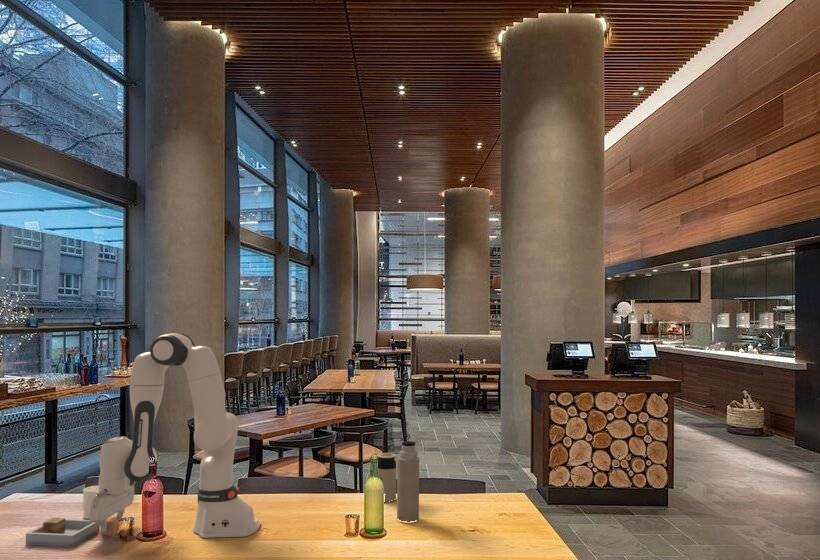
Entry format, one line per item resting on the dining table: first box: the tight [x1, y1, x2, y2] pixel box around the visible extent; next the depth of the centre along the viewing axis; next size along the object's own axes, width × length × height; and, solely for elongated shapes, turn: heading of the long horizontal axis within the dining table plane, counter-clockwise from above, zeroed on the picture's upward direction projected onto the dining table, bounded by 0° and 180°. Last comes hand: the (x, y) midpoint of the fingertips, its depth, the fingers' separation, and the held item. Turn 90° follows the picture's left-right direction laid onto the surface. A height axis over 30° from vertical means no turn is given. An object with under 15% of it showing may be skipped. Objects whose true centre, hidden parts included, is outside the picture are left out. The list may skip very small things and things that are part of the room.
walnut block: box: [42, 517, 66, 534], centre depth 198 cm, size 4×4×4 cm
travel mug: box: [377, 452, 397, 502], centre depth 240 cm, size 8×8×18 cm
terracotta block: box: [100, 516, 123, 536], centre depth 202 cm, size 4×4×4 cm
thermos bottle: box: [396, 440, 420, 522], centre depth 218 cm, size 8×8×28 cm
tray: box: [25, 518, 101, 548], centre depth 198 cm, size 16×14×4 cm
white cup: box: [82, 484, 99, 520], centre depth 219 cm, size 8×8×10 cm
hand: (111, 526), depth 203 cm, fingers open, 7 cm apart
